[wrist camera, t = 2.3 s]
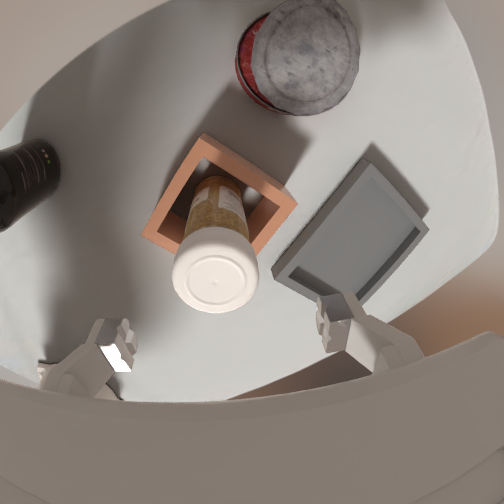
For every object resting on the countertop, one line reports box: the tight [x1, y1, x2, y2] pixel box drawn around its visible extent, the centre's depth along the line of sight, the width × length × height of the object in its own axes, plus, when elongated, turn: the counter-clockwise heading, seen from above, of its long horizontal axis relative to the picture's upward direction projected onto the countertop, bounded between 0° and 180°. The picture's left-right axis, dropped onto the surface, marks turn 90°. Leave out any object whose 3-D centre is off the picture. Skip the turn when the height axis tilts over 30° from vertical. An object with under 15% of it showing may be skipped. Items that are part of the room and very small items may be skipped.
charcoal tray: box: [271, 159, 429, 306], centre depth 29 cm, size 15×12×2 cm
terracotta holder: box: [141, 133, 298, 256], centre depth 23 cm, size 9×9×5 cm
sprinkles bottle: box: [172, 176, 259, 313], centre depth 20 cm, size 5×4×14 cm
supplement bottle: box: [0, 139, 60, 232], centre depth 16 cm, size 7×7×12 cm
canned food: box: [235, 0, 360, 116], centre depth 17 cm, size 11×10×10 cm
